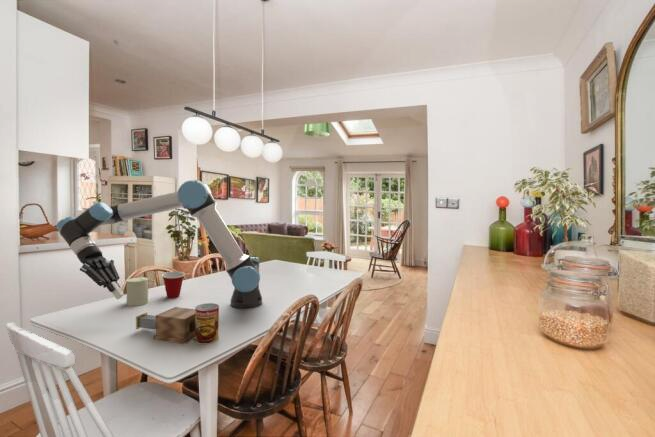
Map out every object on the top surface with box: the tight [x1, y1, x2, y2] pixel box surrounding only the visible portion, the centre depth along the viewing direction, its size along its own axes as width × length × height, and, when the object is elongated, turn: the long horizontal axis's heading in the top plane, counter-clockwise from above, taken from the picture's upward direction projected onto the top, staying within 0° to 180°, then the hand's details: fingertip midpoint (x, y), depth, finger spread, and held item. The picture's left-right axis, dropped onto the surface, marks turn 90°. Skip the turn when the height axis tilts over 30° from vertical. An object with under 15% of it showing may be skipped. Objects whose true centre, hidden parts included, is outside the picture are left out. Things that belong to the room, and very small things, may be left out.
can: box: [125, 277, 149, 307], centre depth 152 cm, size 9×9×12 cm
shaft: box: [135, 312, 191, 331], centre depth 118 cm, size 21×5×5 cm, turn 76°
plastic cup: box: [161, 271, 186, 299], centre depth 164 cm, size 11×11×12 cm
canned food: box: [194, 302, 220, 345], centre depth 114 cm, size 8×8×12 cm
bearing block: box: [152, 306, 195, 345], centre depth 117 cm, size 13×11×8 cm
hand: (120, 296), depth 122 cm, fingers closed
